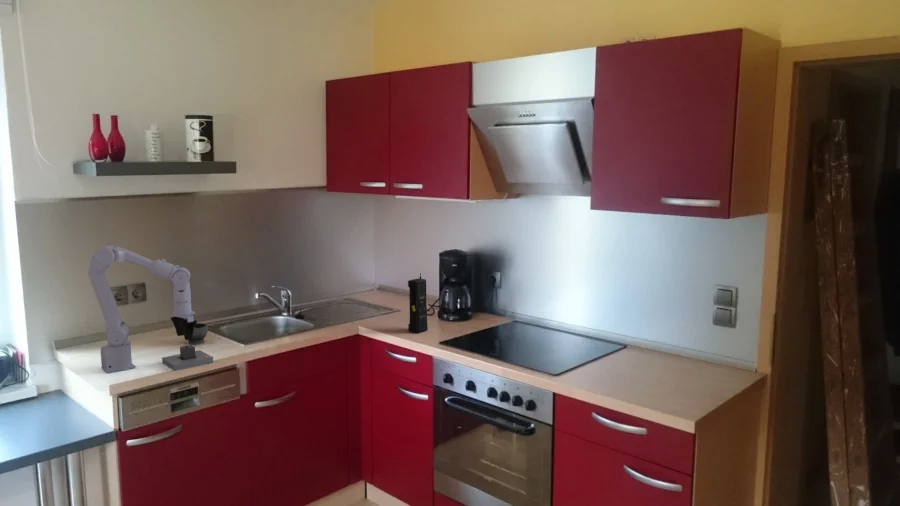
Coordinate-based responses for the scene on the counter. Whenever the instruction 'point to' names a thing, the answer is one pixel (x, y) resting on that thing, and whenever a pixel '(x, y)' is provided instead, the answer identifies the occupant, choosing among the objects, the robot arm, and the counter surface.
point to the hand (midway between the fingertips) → (184, 337)
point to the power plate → (187, 361)
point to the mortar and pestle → (198, 334)
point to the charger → (187, 352)
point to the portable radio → (417, 305)
